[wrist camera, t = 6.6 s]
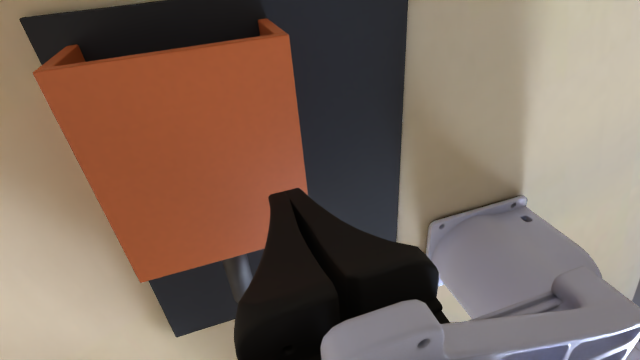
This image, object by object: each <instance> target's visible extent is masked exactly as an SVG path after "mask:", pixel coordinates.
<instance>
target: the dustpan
mask: <svg viewBox="0 0 640 360" xmlns="http://www.w3.org/2000/svg"><path fill="white" fill-rule="evenodd" d="M258 26H259V32H260V36H257V37H251V38H244V39H237V40H230V41H223V42H217V43H210V44H203V45H196V46H190V47H183V48H176V49H169V50H162V51H156V52H149V53H142V54H135V55H129V56H122V57H115V58H108V59H101V60H95V61H88V62H85V59H84V57H83V55H82V52H81V50H80V48H79V45H77V44H76V45H69V46H66V47H65V48H63V49H62V50H61V51H60V52H58V53H57V54H56V55H55V56H53V57H52V58H51V59H49V60H48V61H47V62H46V63H44V64H43V65H42V66H40V67H39V68H38V69H37V70H35V71H34V72H33V75H34V77H35V79H36V81H37V83H38V85H39V87H40V89H41V91H42V92H43V94H44V96H45V98H46V100H47V102H48V104H49V106H50V108H51V110H52V112H53V114H54V116H55V118H56V120H57V122H58V124H59V126H60V128H61V129H62V131H63V133H64V135H65V137H66V139H67V141H68V143H69V145H70V147H71V149H72V151H73V153H74V155H75V157H76V159H77V161H78V163H79V165H80V166H81V168H82V170H83V172H84V174H85V176H86V178H87V180H88V182H89V184H90V186H91V188H92V190H93V192H94V194H95V196H96V198H97V200H98V202H99V203H100V205H101V207H102V209H103V211H104V213H105V215H106V217H107V219H108V221H109V223H110V225H111V227H112V229H113V231H114V233H115V235H116V237H117V239H118V240H119V242H120V244H121V246H122V248H123V250H124V252H125V254H126V256H127V258H128V260H129V262H130V264H131V266H132V268H133V270H134V272H135V274H136V276H137V277H138V279H139V281H140V283H142V282H146V281H149V280H153V279H156V278H160V277H164V276H167V275H171V274H174V273H178V272H182V271H185V270H189V269H192V268H196V267H200V266H203V265H207V264H210V263H214V262H218V261H221V260H222V262H223V265H224V269H225V272H226V275H227V278H228V281H229V284H230V287H231V291H232V294H233V297H234V299H235V301H236V302H237V303H238V302H239V301H240V299H241V298H242V296H243V295H244V293H245V292H246V290H247V288H248V287H249V285H250V283H251V281H252V279H253V277H252V273H251V269H250V265H249V261H248V257H247V254H246V253H250V252H254V251H257V250H261V249H264V248H265V245H266V241H267V236H268V230H269V223H270V205H269V199H268V197H269V196H270V194H274V193H279V192H283V191H287V190H291V189H295V188H300V189H301V190H302V191H304V192H305V193H306V194H307V195H308V191H307V182H306V174H305V166H304V157H303V149H302V140H301V132H300V124H299V115H298V107H297V98H296V90H295V81H294V73H293V65H292V56H291V48H290V39H289V34H287V33H286V32H285V31H283V30H282V29H281V28H279V27H278V26H276V25H275V24H274V23H272V22H271V21H270V20H268V19H267V18H266V19H259V20H258Z"/></svg>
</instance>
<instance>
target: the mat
mask: <svg viewBox="0 0 640 360" xmlns="http://www.w3.org/2000/svg"><path fill="white" fill-rule="evenodd" d="M407 11H408V0H165V1H157V2H149V3H140V4H132V5H123V6H115V7H107V8H98V9H90V10H81V11H73V12H65V13H56V14H48V15H39V16H31V17H23V18H20V22H21V24H22V26H23V28H24V30H25V32H26V34H27V36H28V38H29V40H30V42H31V44H32V46H33V48H34V50H35V52H36V54H37V56H38V58H39V60H40V62H41V64H42V65H43V64H44V63H46V62H47V61H48V60H49V59H51V58H52V57H53V56H55V55H56V54H57V53H58V52H60V51H61V50H62V49H63V48H65V47H66V46H69V45H76V44H77V45H79V48H80V50H81V52H82V55H83V57H84V59H85V62H88V61H95V60H101V59H108V58H115V57H122V56H129V55H135V54H142V53H149V52H156V51H162V50H169V49H176V48H183V47H190V46H196V45H203V44H210V43H217V42H223V41H230V40H237V39H244V38H251V37H257V36H260V32H259V26H258V20H259V19H266V18H267V19H268V20H270V21H271V22H272V23H274V24H275V25H276V26H278V27H279V28H281V29H282V30H283V31H285V32H286V33H287V34H289V39H290V48H291V56H292V65H293V73H294V81H295V90H296V98H297V107H298V115H299V124H300V132H301V140H302V149H303V157H304V166H305V174H306V182H307V191H308V196H309V197H310V198H312V199H313V200H314V201H315V202H316V203H318V204H319V205H320V206H322V207H323V208H324V209H326V210H327V211H328V212H330V213H331V214H333V215H334V216H336V217H337V218H339V219H340V220H342V221H344V222H346V223H347V224H349V225H351V226H353V227H355V228H357V229H359V230H362V231H364V232H366V233H369V234H372V235H374V236H377V237H380V238H383V239H386V240H390V241H393V242H396V236H397V216H398V196H399V175H400V155H401V134H402V114H403V93H404V73H405V52H406V32H407ZM263 252H264V249H261V250H257V251H254V252H250V253H246V254H247V257H248V261H249V265H250V269H251V273H252V277H254V275H255V273H256V271H257V268H258V266H259V263H260V260H261V258H262V255H263ZM149 283H150V285H151V287H152V289H153V291H154V293H155V295H156V297H157V299H158V301H159V303H160V305H161V307H162V310H163V312H164V314H165V316H166V318H167V320H168V322H169V324H170V326H171V328H172V330H173V332H174V334H175V336H176V337H179V336H183V335H186V334H189V333H192V332H195V331H198V330H202V329H205V328H208V327H211V326H214V325H217V324H221V323H224V322H227V321H230V320H233V319H235V318H236V312H237V307H238V303H237V302H236V301H235V299H234V297H233V294H232V291H231V287H230V284H229V281H228V278H227V275H226V272H225V269H224V265H223V262H222V260H221V261H218V262H214V263H210V264H207V265H203V266H200V267H196V268H192V269H189V270H185V271H182V272H178V273H174V274H171V275H167V276H164V277H160V278H156V279H153V280H149Z"/></svg>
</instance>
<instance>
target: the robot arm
mask: <svg viewBox="0 0 640 360" xmlns="http://www.w3.org/2000/svg"><path fill="white" fill-rule="evenodd" d="M268 199H269V205H270V223H269V230H268V236H267V241H266V245H265V248H264V252H263V255H262V258H261V260H260V263H259V266H258V268H257V271H256V273H255V275H254V277H253V279H252V281H251V283H250V285H249V287H248V288H247V290H246V292H245V293H244V295H243V296H242V298H241V299H240V301H239V302H238V307H237V312H236V318H235V326H234V343H235V349H236V355H237V359H238V360H640V307H638V306H637V305H636V304H634V303H633V302H632V301H631V300H629V299H628V298H627V297H625V296H624V295H623V294H621V293H620V292H619V291H618V290H616V289H615V288H614V287H612V286H611V285H610V284H608V283H607V282H606V281H605V280H603V279H602V276H601V273H600V271H599V269H598V267H597V265H596V264H595V262H594V261H593V259H592V258H591V257H590V256H589V254H588V253H587V252H586V251H585V250H584V249H583V248H581V247H580V246H579V245H578V244H576V243H575V242H573V241H572V240H571V239H569V238H568V237H567V236H565V235H564V234H563V233H561V232H560V231H558V230H557V229H556V228H554V227H553V226H552V225H550V224H549V223H547V222H546V221H545V220H543V219H542V218H541V217H539V216H538V215H537V214H535V213H534V212H532V211H531V210H530V209H528V208H527V207H526V204H527V198H526V197H525V196H519V197H515V198H512V199H508V200H505V201H502V202H498V203H495V204H491V205H488V206H484V207H481V208H477V209H474V210H471V211H467V212H464V213H460V214H457V215H453V216H450V217H447V218H443V219H440V220H436V221H433V222H432V223H431V224H430V225H429V230H428V239H427V248H426V254H425V253H424V252H422V251H421V250H420V249H419V247H416V246H411V245H406V244H401V243H397V242H393V241H390V240H386V239H383V238H380V237H377V236H374V235H372V234H369V233H366V232H364V231H362V230H359V229H357V228H355V227H353V226H351V225H349V224H347V223H346V222H344V221H342V220H340V219H339V218H337V217H336V216H334V215H333V214H331V213H330V212H328V211H327V210H326V209H324V208H323V207H322V206H320V205H319V204H318V203H316V202H315V201H314V200H313V199H312V198H310V197H309V196H308V195H307V194H306V193H305V192H304V191H302V190H301V189H300V188H295V189H291V190H287V191H283V192H279V193H274V194H270V196H269V197H268ZM444 284H445V286H446V287H447V288H448V289H449V291H450V292H451V293H452V294H453V296H454V297H455V298H456V299H457V301H458V302H459V303H460V304H461V306H462V307H463V308H464V309H465V311H466V312H467V313H468V314H469V316H470V317H471V318H472V320H469V321H464V322H455V323H450V322H449V321H448V319H447V318H446V316H445V315H444V314H443V312H442V311H441V310H442V308H443V307H442V305H441V303H440V302H439V301H438V299H437V298H436V296H437V289H438V286H441V285H444Z"/></svg>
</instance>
